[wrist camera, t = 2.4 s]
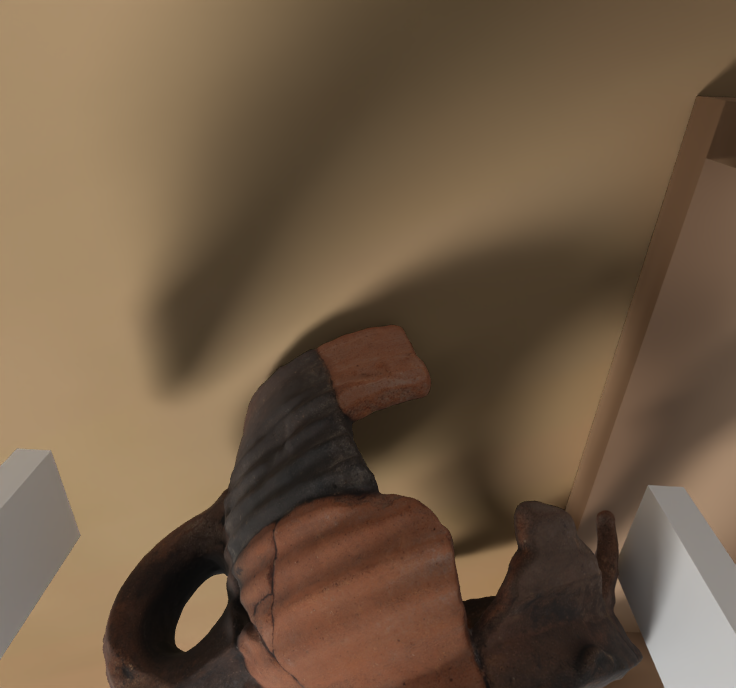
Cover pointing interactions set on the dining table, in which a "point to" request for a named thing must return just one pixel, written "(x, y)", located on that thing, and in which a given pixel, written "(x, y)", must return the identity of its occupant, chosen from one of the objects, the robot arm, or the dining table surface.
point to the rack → (673, 364)
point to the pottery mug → (360, 563)
